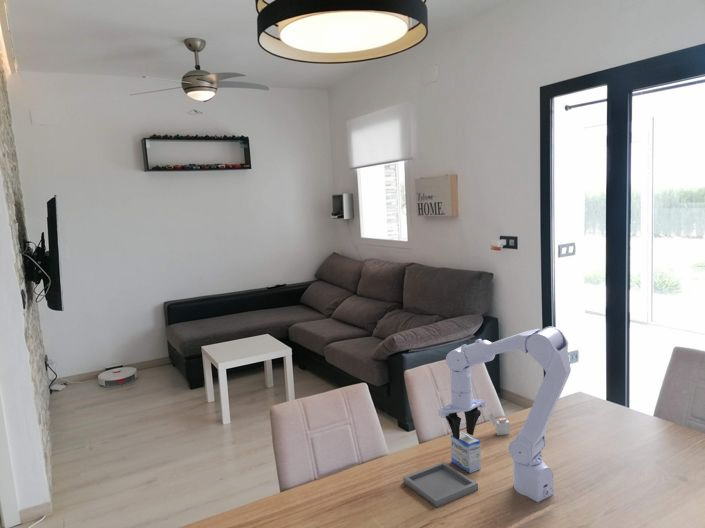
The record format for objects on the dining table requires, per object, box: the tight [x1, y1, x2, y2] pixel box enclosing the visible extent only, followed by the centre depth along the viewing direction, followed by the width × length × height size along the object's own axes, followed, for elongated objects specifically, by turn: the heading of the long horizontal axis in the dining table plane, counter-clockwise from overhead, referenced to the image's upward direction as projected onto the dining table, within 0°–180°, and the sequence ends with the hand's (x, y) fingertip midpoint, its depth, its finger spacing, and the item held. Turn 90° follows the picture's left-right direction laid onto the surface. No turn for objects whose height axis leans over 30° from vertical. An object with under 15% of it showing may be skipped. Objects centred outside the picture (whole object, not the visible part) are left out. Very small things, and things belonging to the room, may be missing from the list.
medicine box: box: [450, 430, 482, 474], centre depth 144 cm, size 8×4×9 cm, turn 30°
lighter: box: [486, 411, 511, 436], centre depth 162 cm, size 7×2×8 cm, turn 99°
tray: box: [402, 461, 479, 508], centre depth 134 cm, size 14×14×2 cm
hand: (463, 435), depth 142 cm, fingers open, 4 cm apart
